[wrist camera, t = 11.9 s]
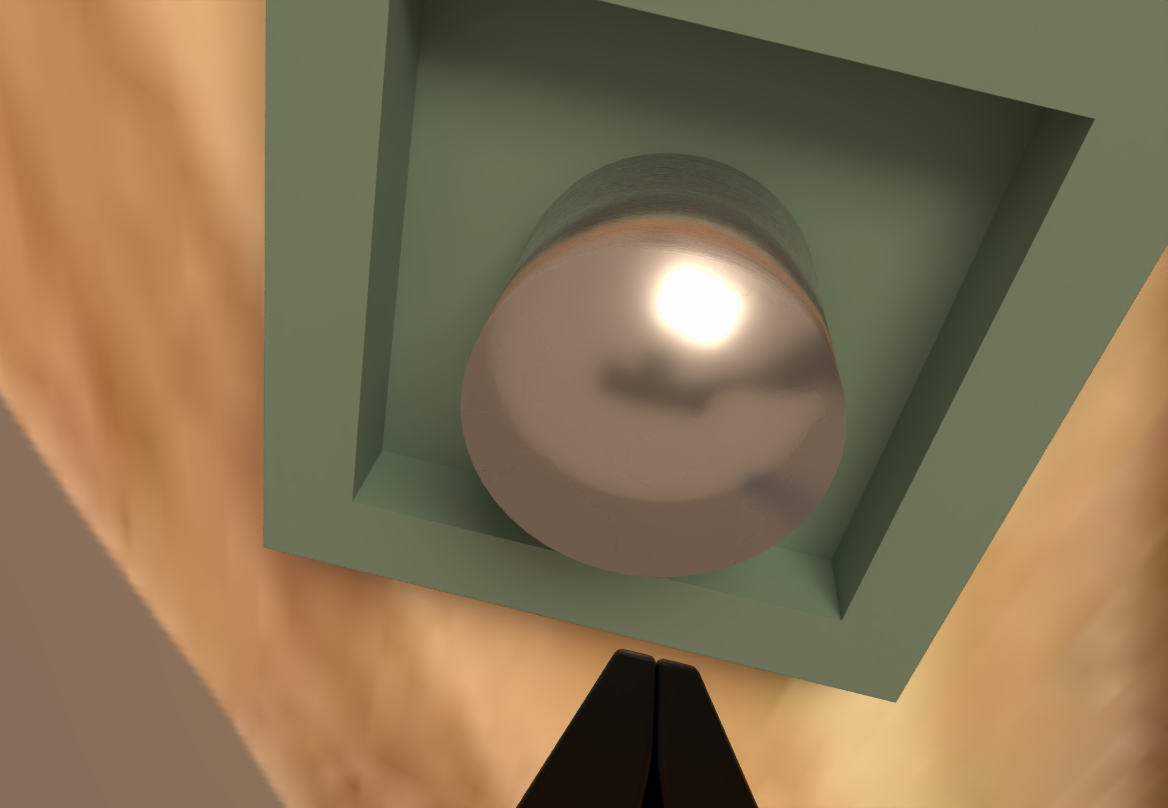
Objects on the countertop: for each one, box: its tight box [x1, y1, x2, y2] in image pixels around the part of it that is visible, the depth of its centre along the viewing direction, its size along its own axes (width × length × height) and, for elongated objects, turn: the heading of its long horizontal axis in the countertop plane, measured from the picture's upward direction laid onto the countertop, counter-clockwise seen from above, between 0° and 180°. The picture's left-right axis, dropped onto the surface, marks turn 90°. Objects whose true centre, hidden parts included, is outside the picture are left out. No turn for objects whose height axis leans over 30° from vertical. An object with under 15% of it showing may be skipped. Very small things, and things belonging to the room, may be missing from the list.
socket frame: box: [264, 0, 1168, 703], centre depth 18 cm, size 15×15×3 cm
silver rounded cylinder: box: [460, 153, 846, 577], centre depth 16 cm, size 6×6×5 cm
